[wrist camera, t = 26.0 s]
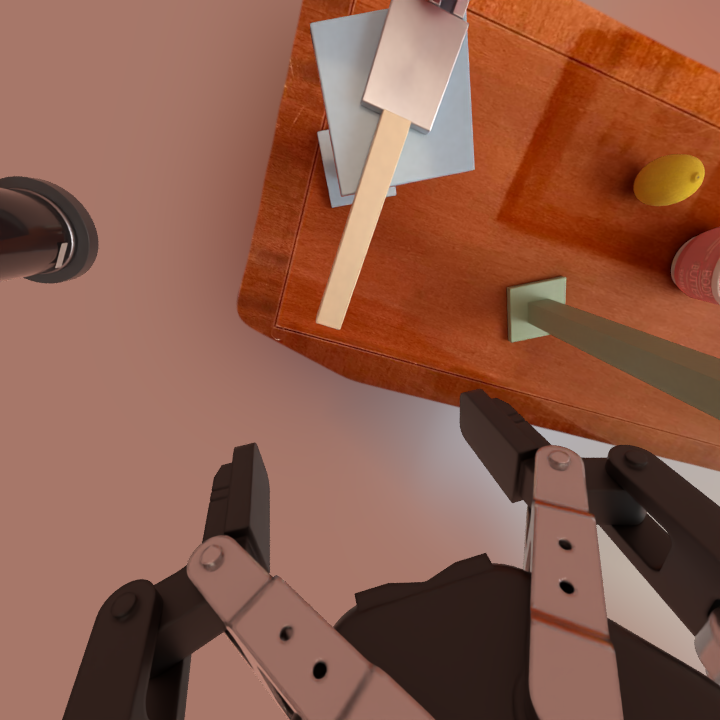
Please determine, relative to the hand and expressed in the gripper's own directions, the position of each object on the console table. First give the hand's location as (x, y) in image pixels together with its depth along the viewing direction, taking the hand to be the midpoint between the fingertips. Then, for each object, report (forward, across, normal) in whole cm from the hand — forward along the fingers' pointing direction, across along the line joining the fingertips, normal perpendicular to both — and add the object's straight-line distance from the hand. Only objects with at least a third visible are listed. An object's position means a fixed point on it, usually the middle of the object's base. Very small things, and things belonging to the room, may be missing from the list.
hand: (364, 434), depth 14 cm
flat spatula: (+12, -5, -9) cm, 16 cm away
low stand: (+37, -9, -9) cm, 39 cm away
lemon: (+32, -45, -2) cm, 55 cm away
